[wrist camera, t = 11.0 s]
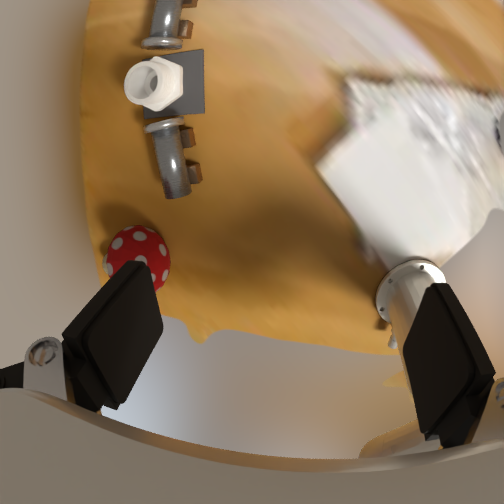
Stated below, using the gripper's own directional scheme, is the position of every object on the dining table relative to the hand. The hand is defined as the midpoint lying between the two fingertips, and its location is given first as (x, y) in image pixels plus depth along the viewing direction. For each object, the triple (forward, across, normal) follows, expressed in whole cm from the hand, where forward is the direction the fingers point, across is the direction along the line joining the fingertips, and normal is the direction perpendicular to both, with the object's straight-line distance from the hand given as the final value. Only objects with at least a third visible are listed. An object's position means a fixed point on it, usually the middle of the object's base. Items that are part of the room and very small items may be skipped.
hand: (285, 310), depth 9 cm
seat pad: (+30, +17, -10) cm, 36 cm away
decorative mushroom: (+31, +25, +15) cm, 42 cm away
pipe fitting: (+30, +17, -10) cm, 36 cm away
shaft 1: (+30, +16, -20) cm, 40 cm away
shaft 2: (+30, +16, 0) cm, 34 cm away
